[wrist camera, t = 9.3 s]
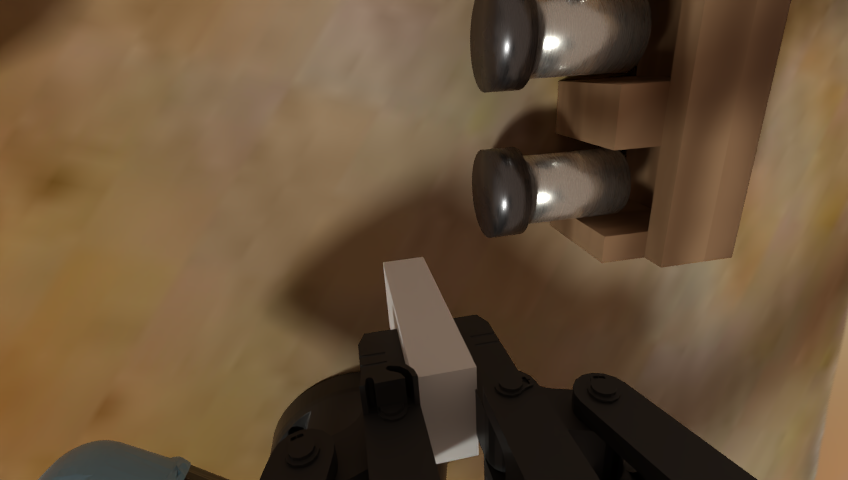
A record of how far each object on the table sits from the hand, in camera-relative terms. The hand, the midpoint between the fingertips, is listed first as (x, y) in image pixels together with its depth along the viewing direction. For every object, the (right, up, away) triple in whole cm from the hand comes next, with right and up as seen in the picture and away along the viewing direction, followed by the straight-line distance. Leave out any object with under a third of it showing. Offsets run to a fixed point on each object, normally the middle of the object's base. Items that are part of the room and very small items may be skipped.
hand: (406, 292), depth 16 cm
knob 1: (+8, +15, +12) cm, 20 cm away
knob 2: (+8, +6, +15) cm, 18 cm away
